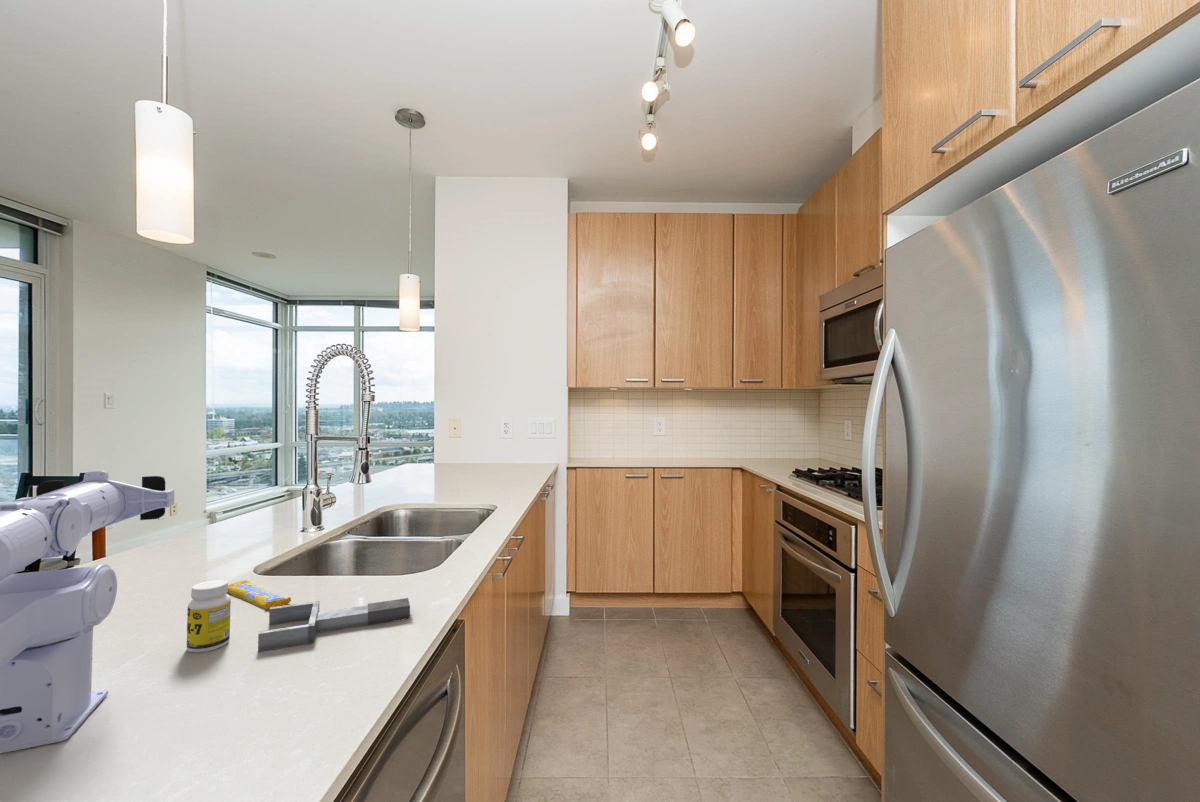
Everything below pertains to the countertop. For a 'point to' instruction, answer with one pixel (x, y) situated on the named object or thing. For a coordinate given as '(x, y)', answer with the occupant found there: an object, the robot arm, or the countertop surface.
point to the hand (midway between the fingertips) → (126, 491)
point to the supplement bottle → (208, 616)
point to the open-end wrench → (325, 621)
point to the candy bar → (256, 595)
